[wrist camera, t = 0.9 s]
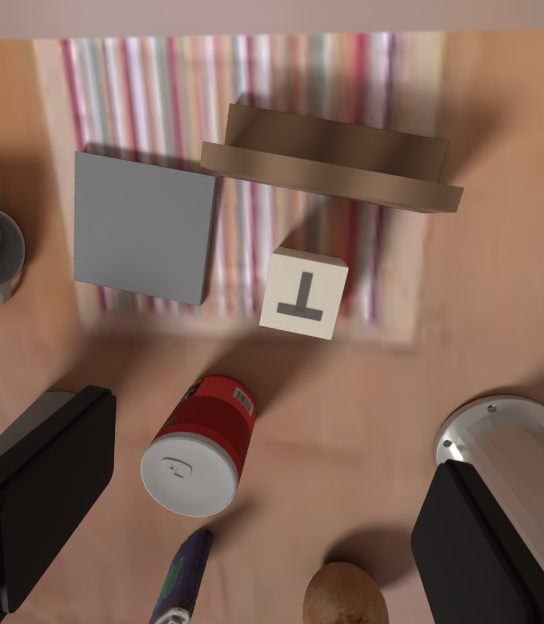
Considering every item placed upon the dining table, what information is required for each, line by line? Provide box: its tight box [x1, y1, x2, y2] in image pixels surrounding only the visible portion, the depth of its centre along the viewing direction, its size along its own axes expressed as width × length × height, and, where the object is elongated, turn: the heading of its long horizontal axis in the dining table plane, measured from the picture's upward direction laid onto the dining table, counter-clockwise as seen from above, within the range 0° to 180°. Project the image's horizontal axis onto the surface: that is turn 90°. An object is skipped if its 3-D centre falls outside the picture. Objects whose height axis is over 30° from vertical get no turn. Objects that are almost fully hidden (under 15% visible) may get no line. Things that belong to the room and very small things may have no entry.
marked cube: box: [259, 246, 349, 340], centre depth 30 cm, size 6×6×6 cm
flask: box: [149, 528, 214, 624], centre depth 39 cm, size 9×3×11 cm, turn 147°
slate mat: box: [74, 151, 218, 306], centre depth 32 cm, size 13×12×1 cm
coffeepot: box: [0, 391, 76, 456], centre depth 32 cm, size 15×9×18 cm, turn 159°
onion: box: [303, 562, 389, 624], centre depth 38 cm, size 10×9×10 cm
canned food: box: [140, 375, 256, 517], centre depth 32 cm, size 8×8×11 cm
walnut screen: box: [200, 103, 464, 213], centre depth 26 cm, size 18×6×7 cm, turn 80°
